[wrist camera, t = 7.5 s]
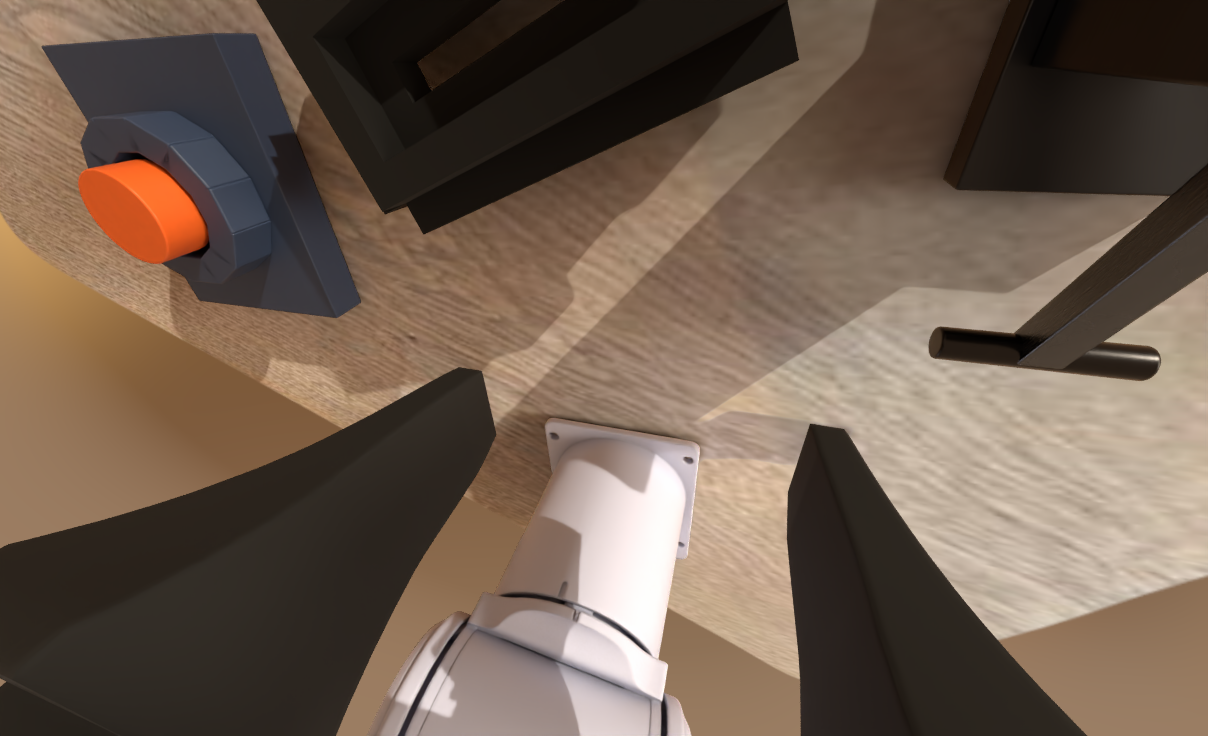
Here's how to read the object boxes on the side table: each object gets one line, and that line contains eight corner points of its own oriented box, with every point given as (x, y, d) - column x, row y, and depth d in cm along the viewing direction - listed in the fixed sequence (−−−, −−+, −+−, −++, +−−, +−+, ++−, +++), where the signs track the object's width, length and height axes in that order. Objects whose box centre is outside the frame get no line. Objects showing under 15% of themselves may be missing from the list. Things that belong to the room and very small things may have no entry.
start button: (226, 251, 19) (185, 267, 18) (165, 245, 20) (121, 261, 19) (176, 159, 17) (125, 169, 16) (110, 157, 18) (56, 167, 17)
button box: (361, 302, 23) (307, 338, 20) (228, 287, 25) (163, 317, 22) (256, 33, 17) (156, 32, 14) (90, 45, 19) (-24, 46, 16)
